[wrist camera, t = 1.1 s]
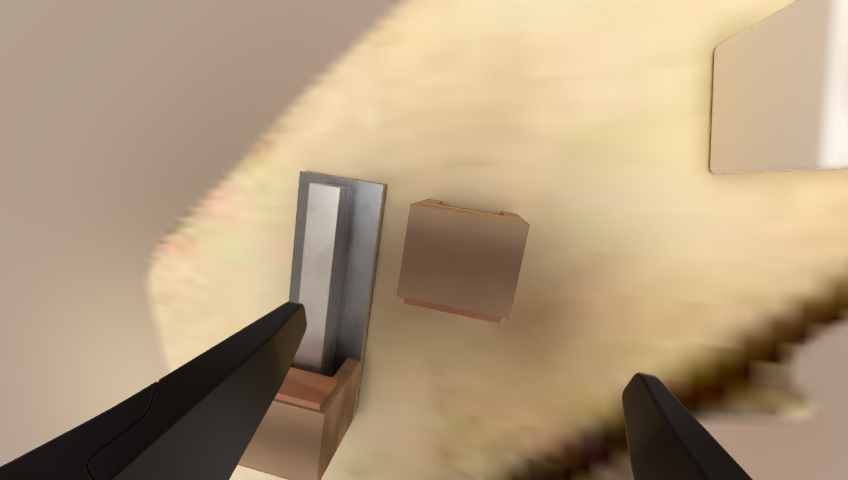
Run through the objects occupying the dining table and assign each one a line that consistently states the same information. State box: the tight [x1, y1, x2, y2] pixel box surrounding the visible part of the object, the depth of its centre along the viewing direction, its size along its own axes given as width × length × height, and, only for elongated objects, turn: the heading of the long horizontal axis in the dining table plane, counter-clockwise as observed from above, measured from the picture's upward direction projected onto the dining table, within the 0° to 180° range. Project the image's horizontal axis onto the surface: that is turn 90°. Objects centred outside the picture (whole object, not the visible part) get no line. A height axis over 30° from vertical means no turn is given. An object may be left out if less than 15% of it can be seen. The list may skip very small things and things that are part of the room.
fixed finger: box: [237, 358, 360, 480], centre depth 23 cm, size 5×6×6 cm
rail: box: [289, 171, 387, 419], centre depth 24 cm, size 18×6×3 cm, turn 171°
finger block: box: [397, 199, 529, 323], centre depth 21 cm, size 5×6×6 cm
